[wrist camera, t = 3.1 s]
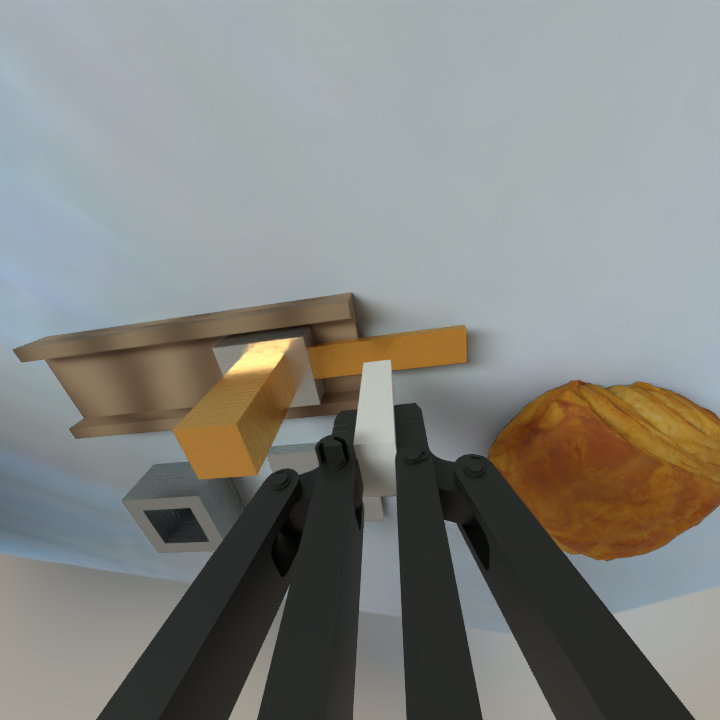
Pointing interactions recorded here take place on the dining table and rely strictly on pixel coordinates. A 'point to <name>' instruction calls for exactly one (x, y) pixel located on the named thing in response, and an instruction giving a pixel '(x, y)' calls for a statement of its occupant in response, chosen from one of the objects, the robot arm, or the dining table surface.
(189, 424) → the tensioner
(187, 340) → the rail
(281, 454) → the square plate with peg
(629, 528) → the croissant
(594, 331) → the dining table surface
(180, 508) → the square hollow frame
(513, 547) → the robot arm
